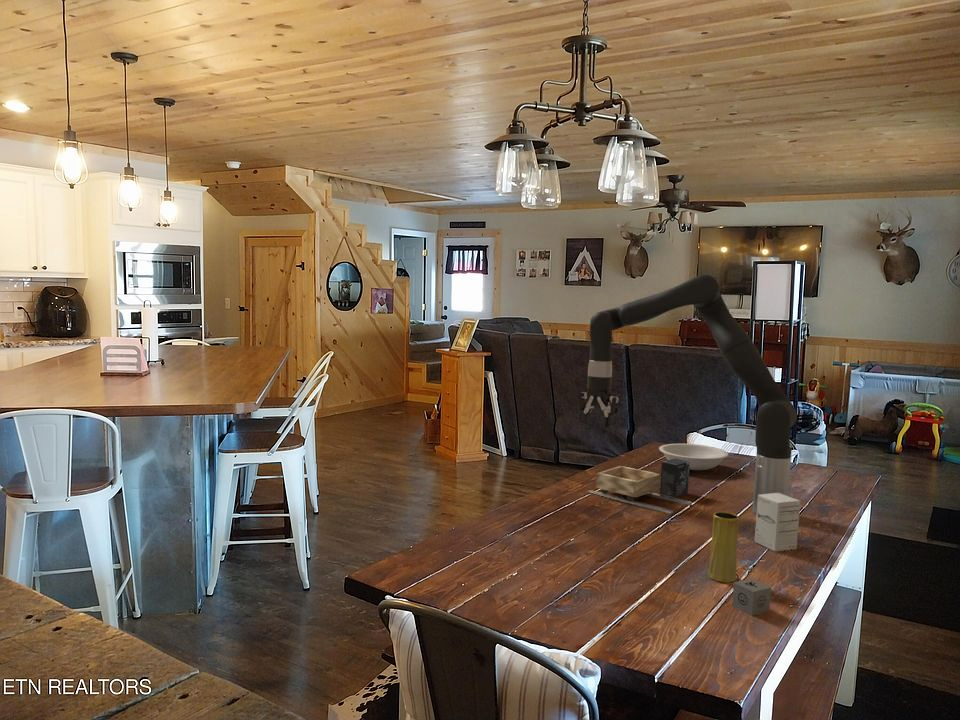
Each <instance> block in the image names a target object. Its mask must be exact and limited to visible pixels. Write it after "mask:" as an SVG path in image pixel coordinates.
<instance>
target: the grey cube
mask: <svg viewBox="0 0 960 720" xmlns="http://www.w3.org/2000/svg"><path fill="white" fill-rule="evenodd" d="M732 586H733V587H732V588H733V589H732V590H733V591H732V603H731V606H732V607H734V608H736V609H738V610H740V611H742V612H744V613H746V614H747V615H750V616H751V617H753V616H756V615H760V613H761V614H763V612H765V613H768V612H770V610H771V609H770V608H771V595H772V593H771V592H772V587H771V586H770V585H767V584H764V583H762V582H760V581H758V580H756V579H753V578H747V579H743V580H739V581H734V582H733V585H732ZM767 611H768V612H767Z"/></svg>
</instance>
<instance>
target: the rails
mask: <svg viewBox="0 0 960 720" xmlns="http://www.w3.org/2000/svg"><path fill="white" fill-rule="evenodd" d="M588 492H589V493H593V494H597V495H600V496H599V497H601V496H604V497H603V498H605V497H607V498H606V499H609V498H611V499H610V500H613V499H614V501H617V500H618V501H617V502H621V503H626V504H631V505H633V506H637V507H640V508H645V509H649V510H653V511H657V512H662V513H664V514H665V513H666V514H670V515H671V514H674V510H673V509H669V508H666V507H660V506H656V505H653V504H649V503H645V502H641V501H636V500H634V499H633V500H628V499H627V498H624V497H620V496H618V495H617V496H616V495H612V494H608V493H606V494H603V493H602V492H601V491H597V490H594V489H593V490H592V489H590V490H587V493H588ZM589 493H588V494H589ZM593 494H592V495H593ZM597 495H596V496H597ZM643 496H649V497H653V498H656V499H661V500H666V501H670V502H674V503H677V502H678V503H677V504H681V505H686V506H692V505H693V502H692V501H689V500H685V499H680V498H677V497H675V498H673V497H669V496H665V495H662V494H660V493H656V492H651V493H647V494H644V495H643Z"/></svg>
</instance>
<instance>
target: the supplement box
mask: <svg viewBox="0 0 960 720" xmlns="http://www.w3.org/2000/svg"><path fill="white" fill-rule="evenodd" d="M801 502H802V501H801V500H799V499H798V498H797V499H796V498H793V497H789V496H786V495H783V494H781V493H770V494H761V495H758V503H757V514H755V516H756V519H755V530H754V531H755V532H754V543H757V544H759V545H761V546H763V547H765V548H767V549H768V550H771V551H772V552H785V551H790V550H791V549H792V550H796V549H797V548H798V547H797V546H798V538H799V537H798V536H799V535H798V534H799V526H800V525H799V524H800V523H799V522H800V513H801ZM784 550H785V551H784Z"/></svg>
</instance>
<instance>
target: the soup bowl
mask: <svg viewBox="0 0 960 720" xmlns="http://www.w3.org/2000/svg"><path fill="white" fill-rule="evenodd" d="M658 449H659V452H661V453H662V454H663V455H664V457H665V458H666V459H667V460H670V459H674V458H676V459H681V460H685V461H689V462H690V467H689V471H690V470H691V471H692V470H693V471H706V470H707V471H708V470H711V469H713V468H715V467H717V466H718V465H720V464H721V463H722V461H723V460H724V459H727V458H728V457H729V453H728V452H727V451H726V450H724V449H722V448H717V447H714V446H709V445H705V444H703V445H702V444H696V443H669V444H663V445H660V446H659V447H658ZM667 460H666V461H667Z"/></svg>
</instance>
